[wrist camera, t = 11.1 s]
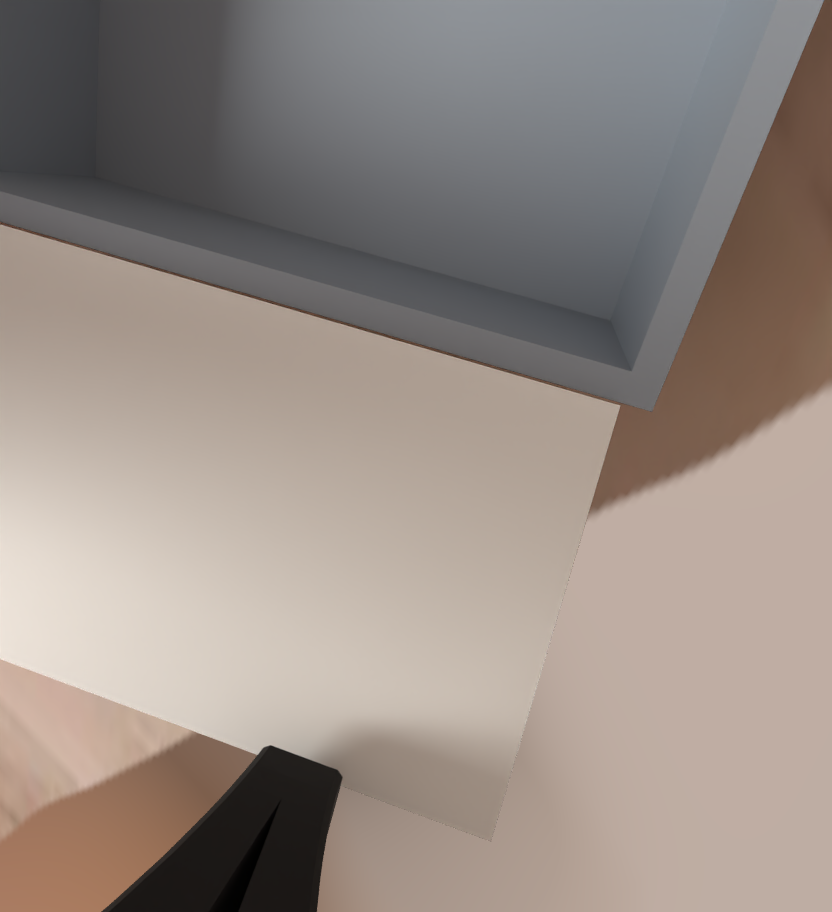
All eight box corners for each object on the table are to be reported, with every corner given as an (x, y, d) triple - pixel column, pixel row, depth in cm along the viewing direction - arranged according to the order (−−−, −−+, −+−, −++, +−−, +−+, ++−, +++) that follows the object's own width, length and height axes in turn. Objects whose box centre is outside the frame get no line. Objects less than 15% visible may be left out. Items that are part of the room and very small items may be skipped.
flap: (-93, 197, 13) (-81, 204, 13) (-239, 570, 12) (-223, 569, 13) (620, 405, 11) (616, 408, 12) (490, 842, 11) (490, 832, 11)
